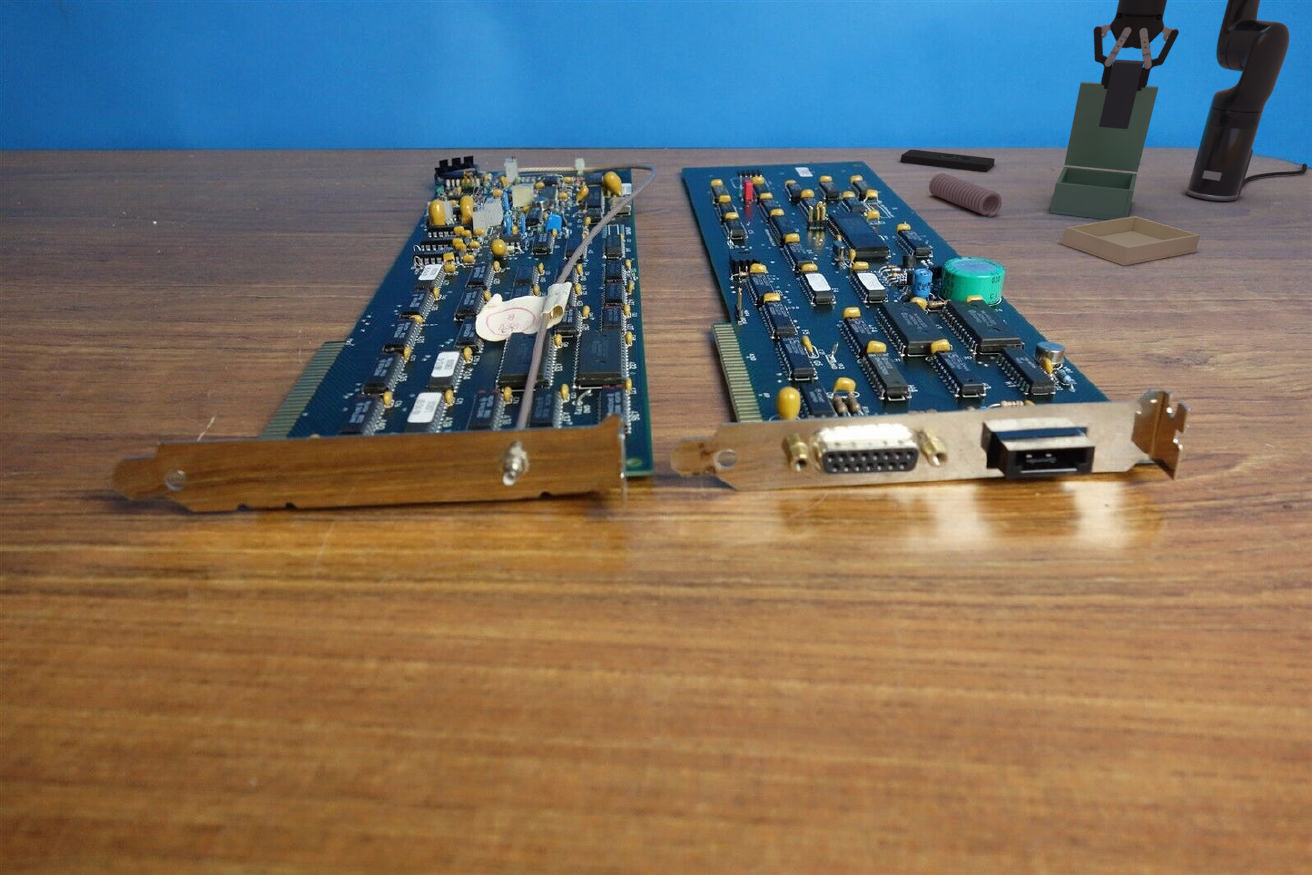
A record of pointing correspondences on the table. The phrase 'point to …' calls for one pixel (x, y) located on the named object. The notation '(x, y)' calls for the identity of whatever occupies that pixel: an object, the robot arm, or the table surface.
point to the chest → (1093, 193)
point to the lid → (1108, 131)
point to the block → (1121, 94)
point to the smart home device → (948, 160)
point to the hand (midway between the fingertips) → (1122, 89)
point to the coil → (965, 194)
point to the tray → (1130, 240)
